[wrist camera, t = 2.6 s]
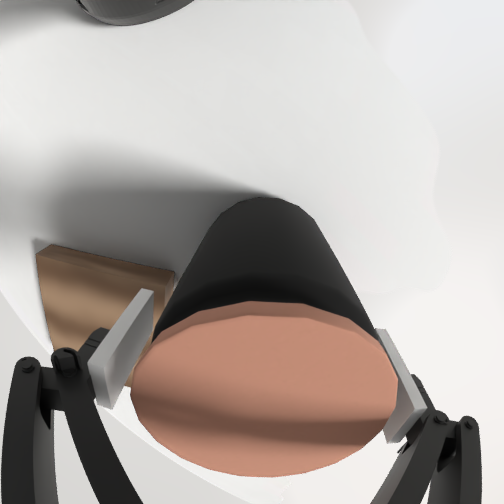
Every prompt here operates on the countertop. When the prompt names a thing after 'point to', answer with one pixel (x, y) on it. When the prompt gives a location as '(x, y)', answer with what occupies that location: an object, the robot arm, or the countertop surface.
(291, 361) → the coffee jar
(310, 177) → the countertop surface
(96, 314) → the walnut riser
